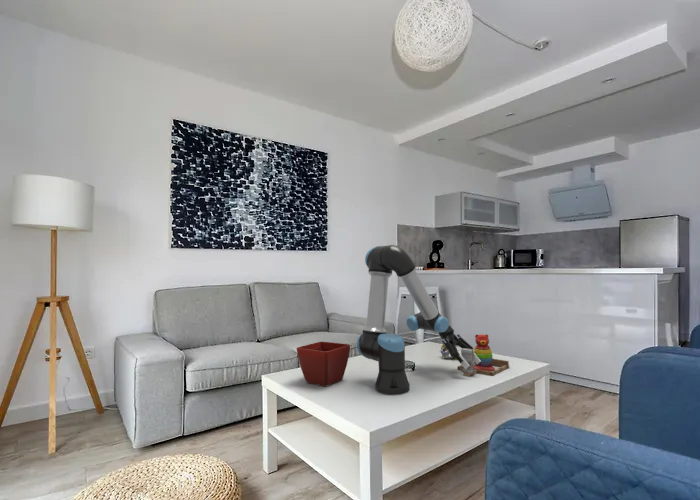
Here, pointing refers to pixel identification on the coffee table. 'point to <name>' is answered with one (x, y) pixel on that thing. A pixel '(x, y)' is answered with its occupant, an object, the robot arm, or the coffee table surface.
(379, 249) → the robot arm
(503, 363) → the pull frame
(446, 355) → the passion flower
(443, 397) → the coffee table surface
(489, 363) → the stacking bear
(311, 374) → the plant pot
